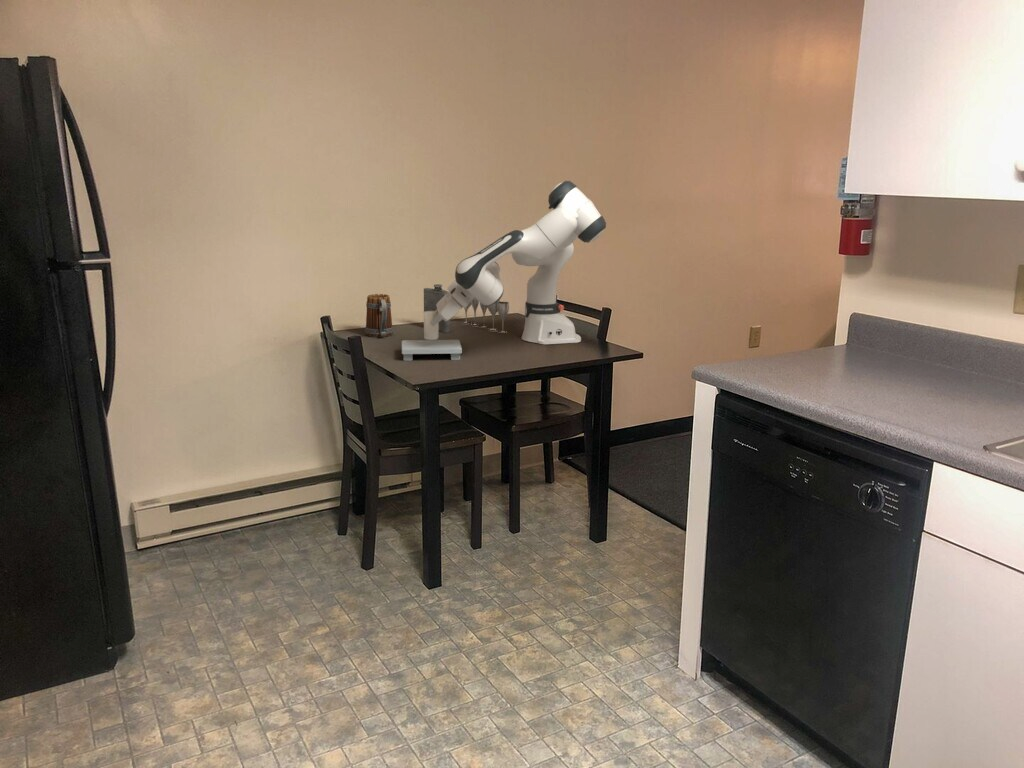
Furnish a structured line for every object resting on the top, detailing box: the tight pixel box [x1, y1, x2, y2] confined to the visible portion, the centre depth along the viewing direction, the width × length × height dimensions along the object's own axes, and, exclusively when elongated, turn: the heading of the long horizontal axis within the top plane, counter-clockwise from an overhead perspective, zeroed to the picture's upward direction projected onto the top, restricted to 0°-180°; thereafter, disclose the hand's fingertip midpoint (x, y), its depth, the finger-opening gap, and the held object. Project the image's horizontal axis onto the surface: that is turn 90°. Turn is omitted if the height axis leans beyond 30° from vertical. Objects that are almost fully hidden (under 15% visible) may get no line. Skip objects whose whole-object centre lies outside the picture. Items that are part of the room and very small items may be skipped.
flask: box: [423, 283, 451, 334], centre depth 316 cm, size 4×14×18 cm, turn 46°
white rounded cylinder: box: [423, 311, 440, 340], centre depth 275 cm, size 5×5×9 cm
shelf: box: [401, 339, 463, 362], centre depth 277 cm, size 20×14×4 cm
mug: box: [364, 293, 394, 338], centre depth 304 cm, size 16×11×15 cm
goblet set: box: [463, 298, 510, 332], centre depth 323 cm, size 28×6×13 cm, turn 42°
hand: (431, 322), depth 275 cm, fingers closed on white rounded cylinder, 5 cm apart
